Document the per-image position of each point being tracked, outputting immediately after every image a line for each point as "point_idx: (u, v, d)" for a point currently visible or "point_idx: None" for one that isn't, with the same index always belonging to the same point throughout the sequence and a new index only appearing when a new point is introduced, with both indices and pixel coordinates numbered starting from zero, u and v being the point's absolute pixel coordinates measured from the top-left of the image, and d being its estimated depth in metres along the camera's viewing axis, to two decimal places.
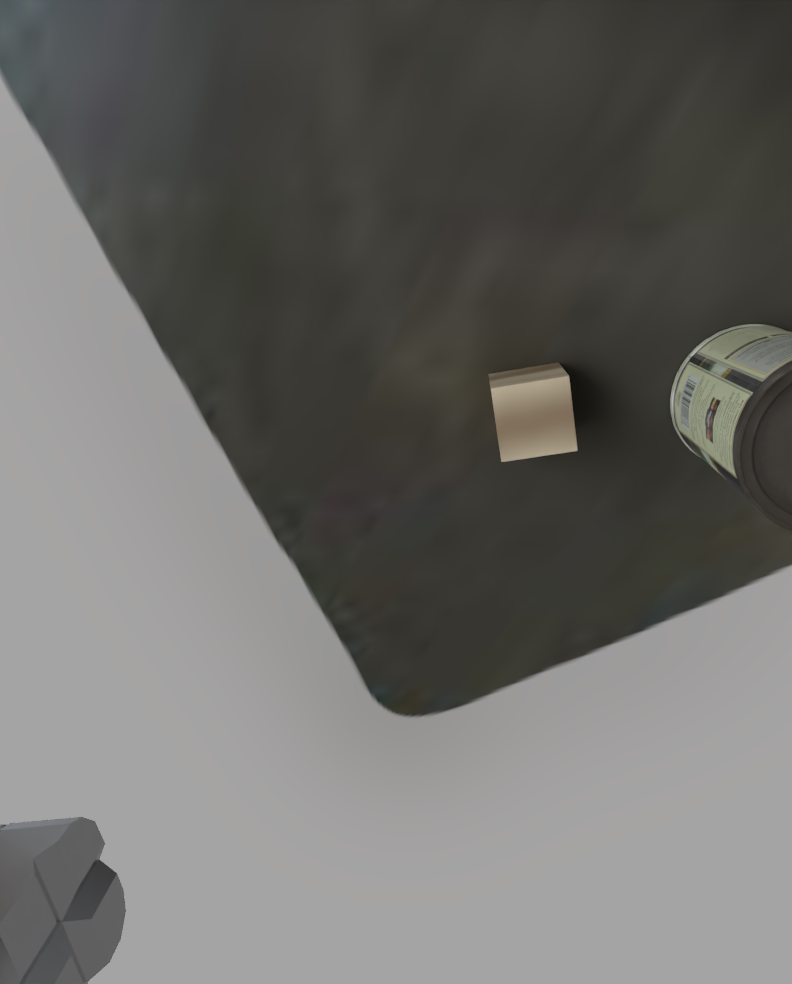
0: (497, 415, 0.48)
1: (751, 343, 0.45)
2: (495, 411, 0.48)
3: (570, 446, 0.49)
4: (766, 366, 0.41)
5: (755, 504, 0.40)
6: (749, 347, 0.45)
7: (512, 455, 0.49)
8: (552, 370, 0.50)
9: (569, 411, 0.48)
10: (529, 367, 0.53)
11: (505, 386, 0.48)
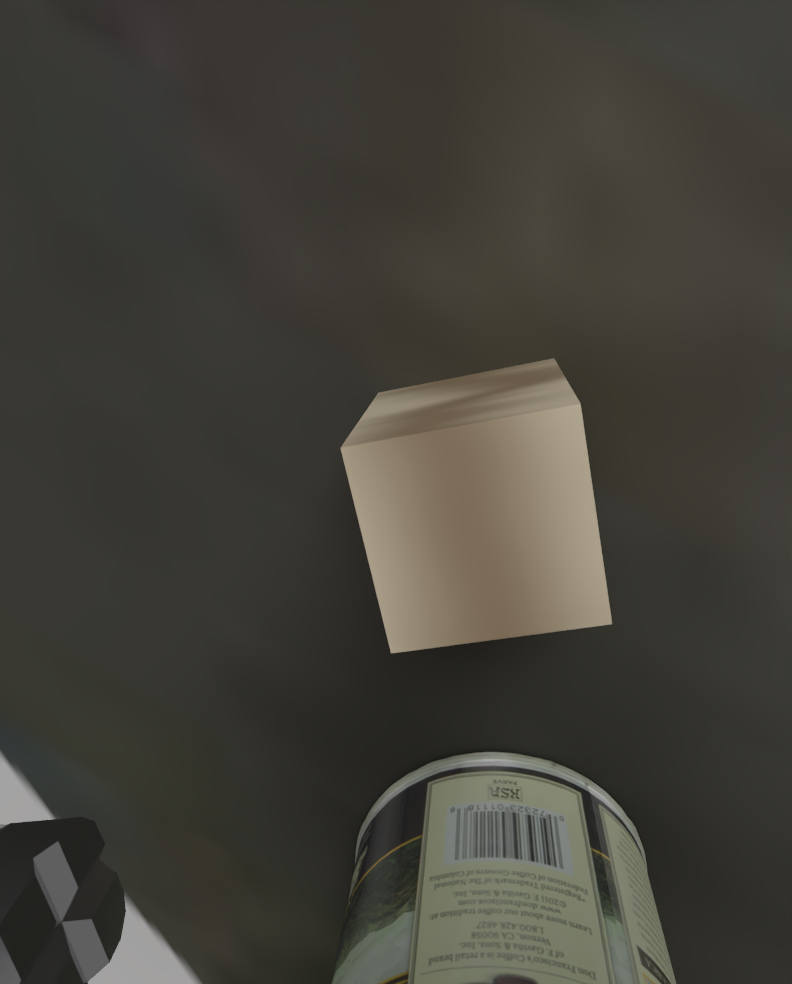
0: (491, 428, 0.15)
1: None
2: (504, 421, 0.15)
3: (402, 635, 0.17)
4: None
5: None
6: None
7: (364, 479, 0.16)
8: None
9: (505, 628, 0.17)
10: None
11: (584, 447, 0.15)
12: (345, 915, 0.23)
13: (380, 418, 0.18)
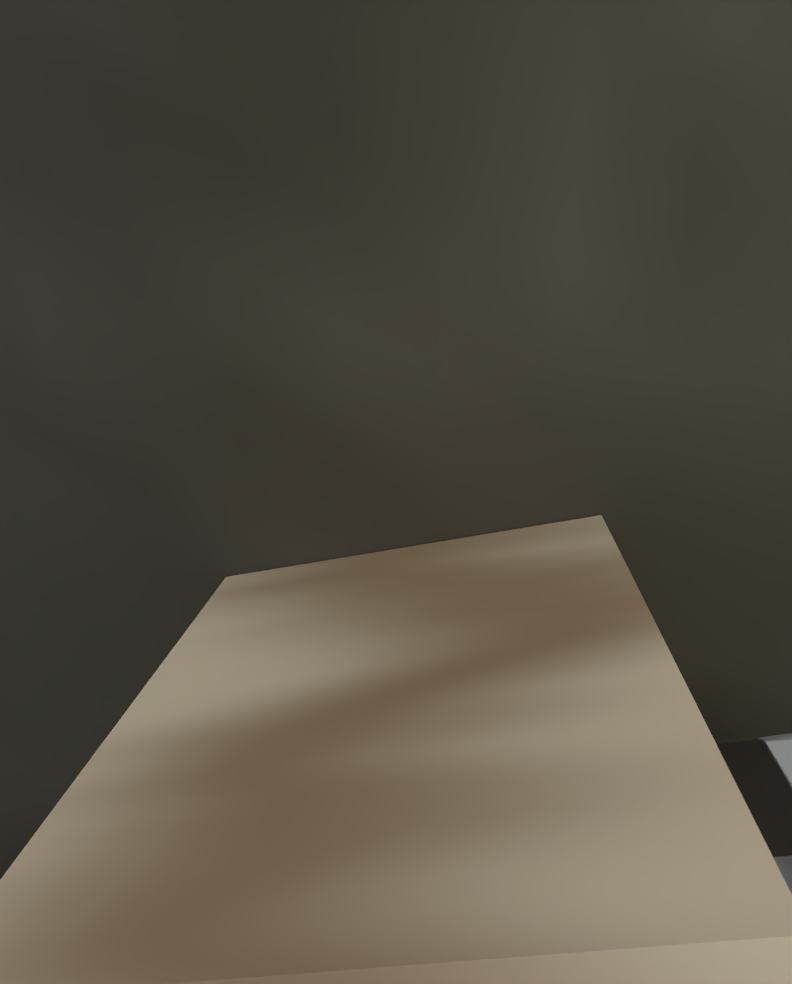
0: None
1: None
2: (496, 968, 0.04)
3: None
4: None
5: None
6: None
7: None
8: None
9: None
10: None
11: None
12: None
13: (154, 744, 0.06)
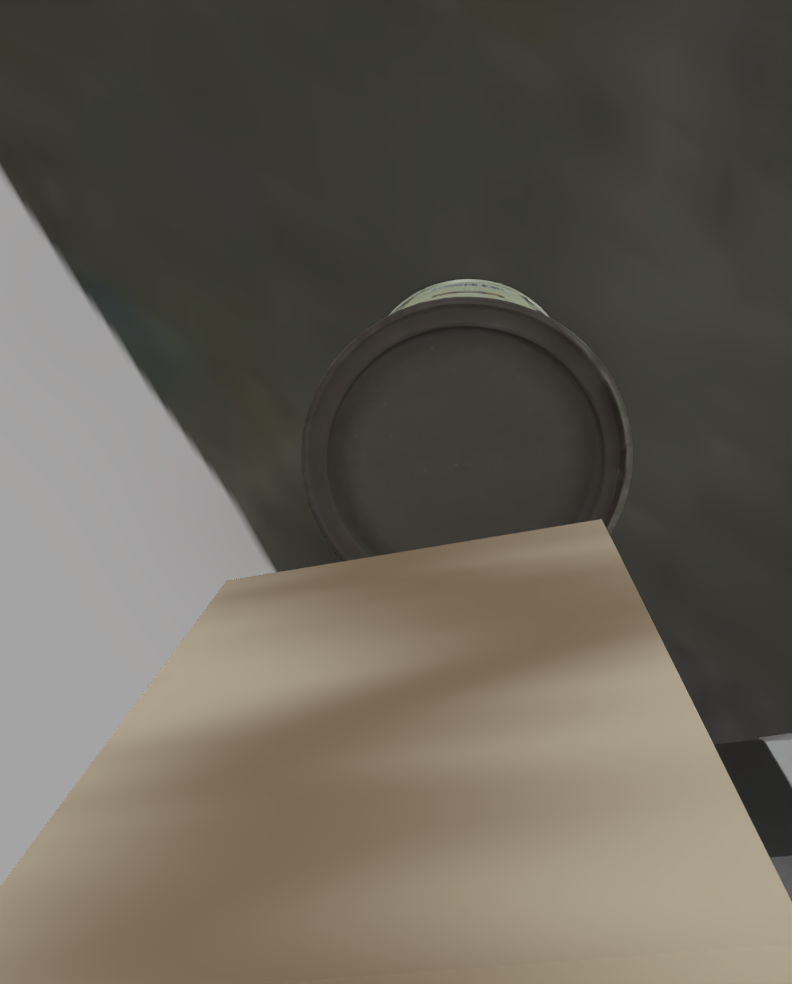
0: None
1: None
2: (497, 975, 0.04)
3: None
4: None
5: (348, 349, 0.22)
6: None
7: None
8: None
9: None
10: None
11: None
12: None
13: (155, 749, 0.06)
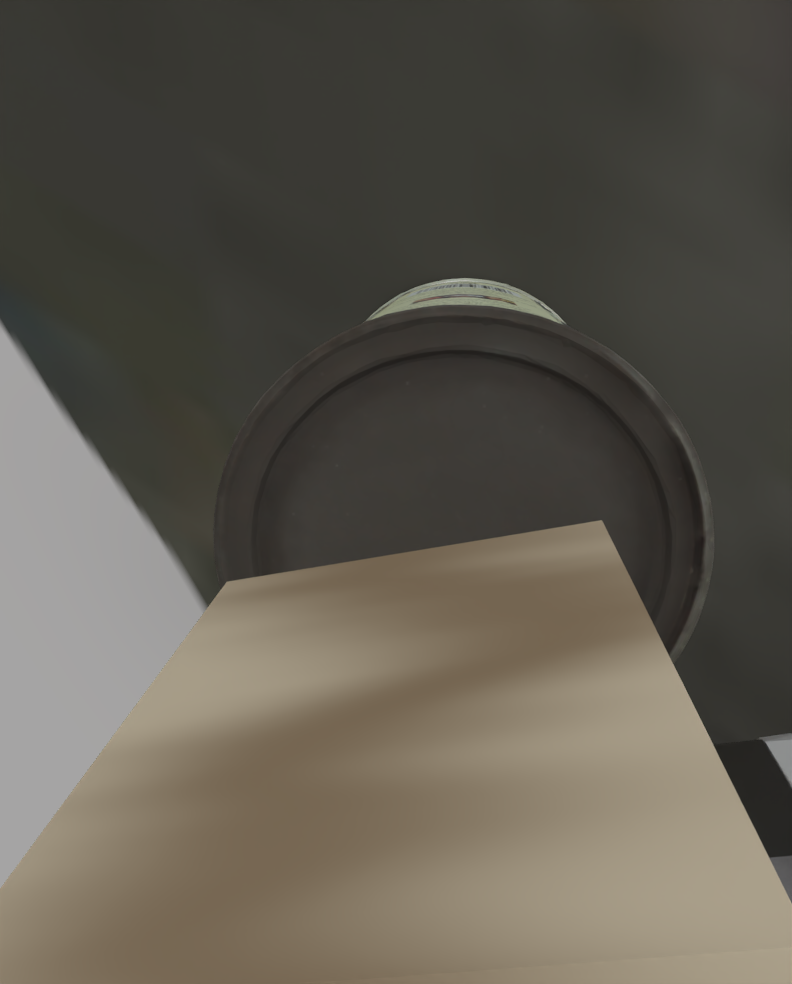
0: None
1: None
2: (497, 978, 0.04)
3: None
4: None
5: (278, 385, 0.14)
6: None
7: None
8: None
9: None
10: None
11: None
12: None
13: (154, 751, 0.06)
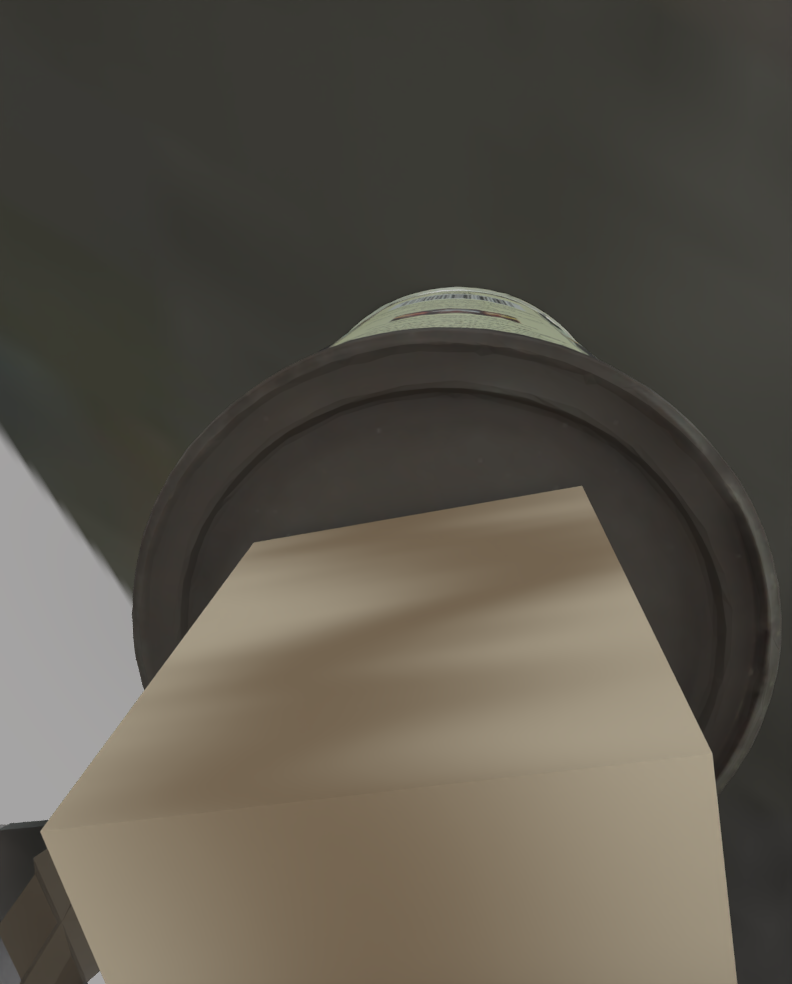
0: (448, 803, 0.05)
1: None
2: (485, 787, 0.05)
3: None
4: None
5: (209, 433, 0.11)
6: None
7: (111, 905, 0.06)
8: None
9: None
10: None
11: (716, 856, 0.05)
12: None
13: (207, 664, 0.08)
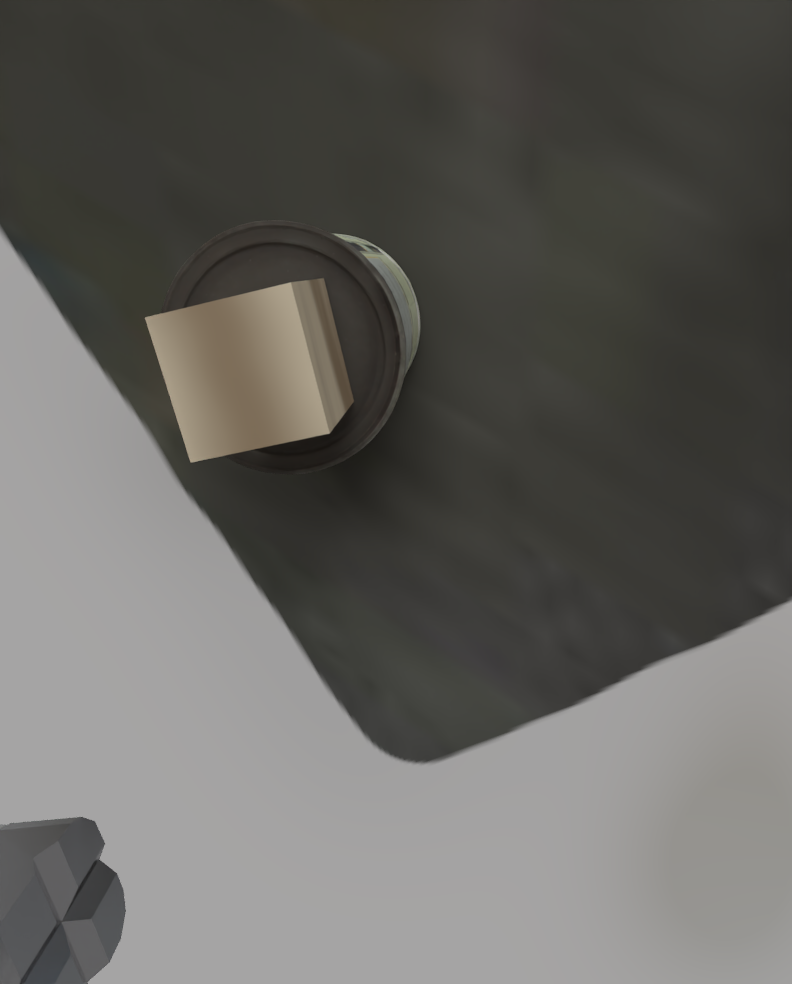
0: (238, 300, 0.24)
1: (399, 284, 0.36)
2: (245, 295, 0.24)
3: (196, 448, 0.25)
4: (373, 265, 0.31)
5: (187, 262, 0.29)
6: (394, 278, 0.36)
7: (161, 338, 0.24)
8: (338, 396, 0.27)
9: (262, 440, 0.25)
10: (341, 352, 0.30)
11: (297, 312, 0.24)
12: None
13: None
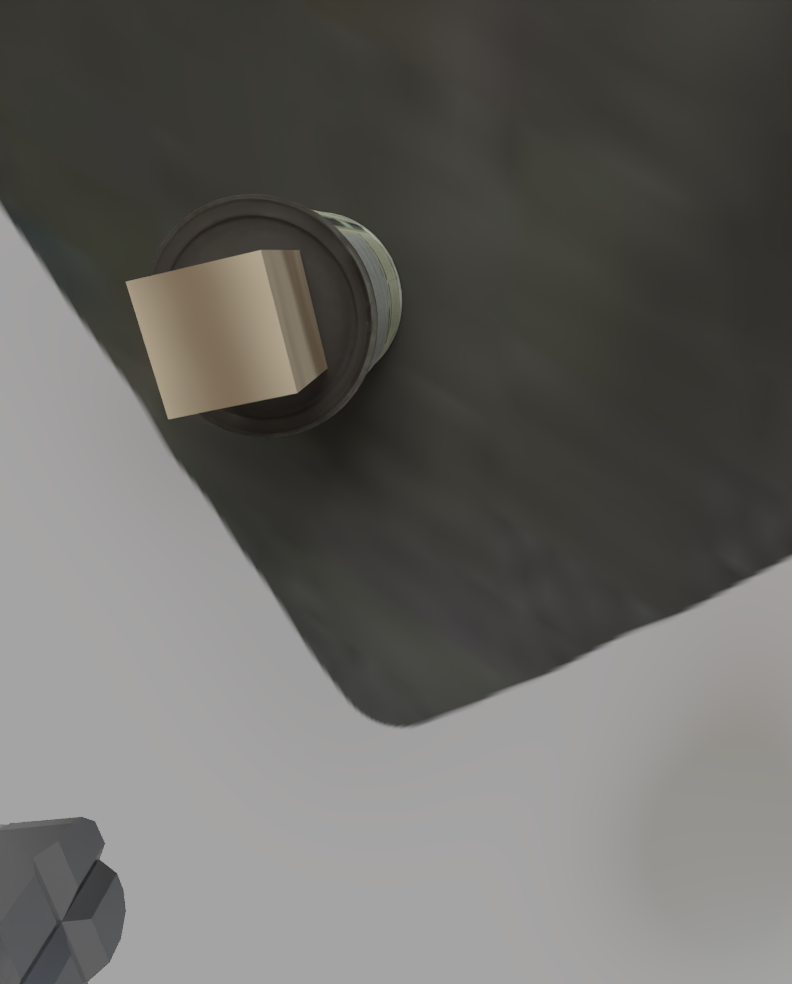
0: (211, 266, 0.25)
1: (378, 259, 0.38)
2: (218, 262, 0.25)
3: (174, 406, 0.27)
4: (349, 239, 0.33)
5: (171, 233, 0.31)
6: (373, 253, 0.37)
7: (141, 301, 0.26)
8: (309, 361, 0.29)
9: (235, 399, 0.27)
10: (315, 320, 0.32)
11: (267, 278, 0.25)
12: None
13: None
